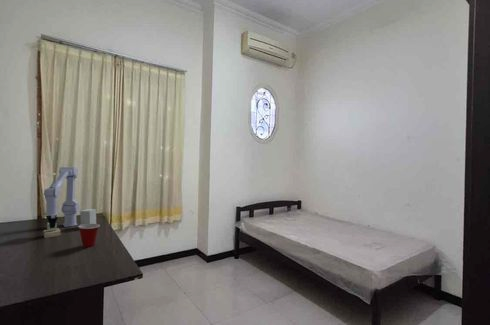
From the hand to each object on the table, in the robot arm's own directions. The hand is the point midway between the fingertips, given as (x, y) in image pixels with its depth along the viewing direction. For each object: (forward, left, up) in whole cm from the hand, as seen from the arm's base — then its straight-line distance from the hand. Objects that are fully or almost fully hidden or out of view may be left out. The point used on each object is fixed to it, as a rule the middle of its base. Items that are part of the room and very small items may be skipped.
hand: (51, 227), depth 165 cm
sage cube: (0, 0, -2) cm, 2 cm away
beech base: (0, 0, -5) cm, 5 cm away
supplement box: (-7, +22, -6) cm, 24 cm away
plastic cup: (+37, +14, -6) cm, 40 cm away
